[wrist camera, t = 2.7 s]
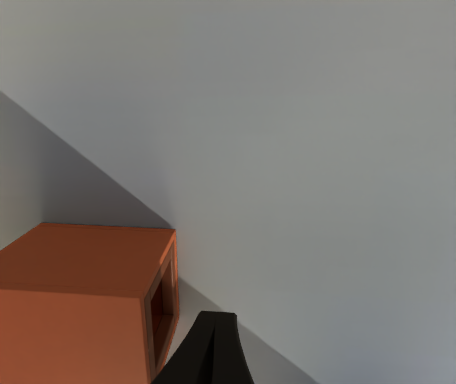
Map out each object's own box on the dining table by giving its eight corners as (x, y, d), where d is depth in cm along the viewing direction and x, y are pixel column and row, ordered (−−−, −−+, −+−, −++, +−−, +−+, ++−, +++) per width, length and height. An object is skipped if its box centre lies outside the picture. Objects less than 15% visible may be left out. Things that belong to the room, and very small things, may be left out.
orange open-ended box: (57, 309, 17) (-17, 396, 13) (41, 222, 16) (-52, 285, 11) (179, 317, 17) (150, 410, 12) (176, 229, 15) (140, 297, 10)
